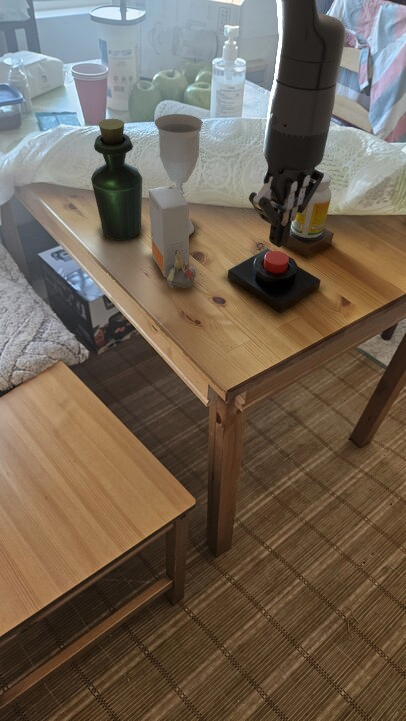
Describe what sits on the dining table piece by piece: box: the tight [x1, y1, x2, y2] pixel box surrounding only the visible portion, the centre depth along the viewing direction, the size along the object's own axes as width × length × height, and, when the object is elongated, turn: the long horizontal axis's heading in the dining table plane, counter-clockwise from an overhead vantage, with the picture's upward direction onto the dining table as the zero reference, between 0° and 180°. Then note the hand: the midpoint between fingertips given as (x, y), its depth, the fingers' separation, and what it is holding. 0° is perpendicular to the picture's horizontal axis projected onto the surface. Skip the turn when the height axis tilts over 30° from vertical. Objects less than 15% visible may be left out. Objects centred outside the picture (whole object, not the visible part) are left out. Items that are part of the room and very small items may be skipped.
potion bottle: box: [90, 118, 143, 241], centre depth 81 cm, size 8×8×18 cm
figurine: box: [166, 250, 197, 289], centre depth 76 cm, size 5×4×6 cm
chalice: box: [154, 113, 204, 236], centre depth 82 cm, size 7×7×18 cm
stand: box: [284, 227, 335, 259], centre depth 86 cm, size 6×6×2 cm
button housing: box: [227, 247, 322, 314], centre depth 77 cm, size 11×9×4 cm
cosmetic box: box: [148, 184, 190, 278], centre depth 77 cm, size 6×4×12 cm
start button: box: [264, 250, 290, 274], centre depth 76 cm, size 4×4×2 cm
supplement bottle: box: [291, 169, 333, 238], centre depth 81 cm, size 5×5×10 cm
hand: (278, 243), depth 73 cm, fingers closed
